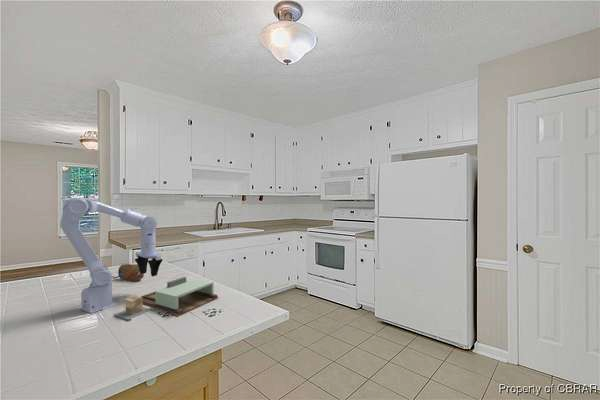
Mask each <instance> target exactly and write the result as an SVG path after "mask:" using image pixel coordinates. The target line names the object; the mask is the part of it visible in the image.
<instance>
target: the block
mask: <svg viewBox="0 0 600 400" xmlns="http://www.w3.org/2000/svg"><path fill="white" fill-rule="evenodd" d="M124 304H125V310H126V313H128V314H131V315H133V314H136V313H138V312H141V311H143V307H144V305H143V298H142V297H141V296H137V295H134V296H131V297H129V298H125V303H124Z"/></svg>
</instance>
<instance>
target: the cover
mask: <svg viewBox="0 0 600 400" xmlns="http://www.w3.org/2000/svg"><path fill="white" fill-rule="evenodd" d="M166 284H167V285H166V287H164V288H161V289H157V290H155V291H154V292H155V304H158V305H162V306H165V307H169V308H172V309H178V298H179V297H181V296H184V295H186V294H189V293H192V292H194V291H200V292H204V293H208V294H215V293H214V291H215V290H214V282H213V281H210V280H205V279H199V278H194V277H193V278H191V279H188V280H187V277H185V276H182V277H179V278H175V279H173V280H170V281H167V282H166Z"/></svg>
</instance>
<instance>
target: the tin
mask: <svg viewBox="0 0 600 400" xmlns="http://www.w3.org/2000/svg"><path fill="white" fill-rule="evenodd" d="M117 274H118V277H119V279H120V280H121V281H125V280H126V281H127V282H138V281H141V280H142V279H143V278H144V276H145V273H144V274H141V273H140V270H139V267H138V264H137V263H136V264H135V263H123V264H121V265H120V266H119V268H118V272H117Z"/></svg>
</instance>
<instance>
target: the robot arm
mask: <svg viewBox="0 0 600 400" xmlns="http://www.w3.org/2000/svg"><path fill="white" fill-rule="evenodd" d="M87 212H88V213H96V212H98V213H102V214H106V215H110V216H113V217H115V218H119V220H120V221H121V223H123V224H128V225H131V226H133V227H139V228H140V252H139V251H137V252H135V256H136V258H134V261H135V262H136V264H138V267H139V270H140V273H141V274H144V275H145V274H146V273H147V271H148V269H147V268H148V264H149V269H150V275H151V277H156V276H158V272H159V268H160V266H161V264H162V262H163V258H162V254H159V252H158V251H157V250H156V244H157V243H156V241H157V239H156V228H157V225H158V222H157V220H156V219H155V218H154V217H152V216H149V215H147V214H146V213H144V212H143V213H141V212H137V211H135V209H134V208H131V209H128V208H127V209H124V210H121V209H119V208H117V207H114V206H110V205H108V204H105V203H102V202H100V201H95V200H91V199H90V200H89V199H84V198H82V197H74V198H70V199H69V200H68V201H67V202H66V204H65V206H64V207H63V209H62V214H61V219H60V223H59V224H60V228H61V230H62V232H63V233H64V235H66V237H67V238H68V241H69V242H70V243H71V245H72V247H73V248H74V250H75V251H76V253H77V254H78V256H79V257H80V258H81V260H82V262H83V263H84V265H85V266H86V268H87V270H88V272H89V276H90V278H91V282H90V283H89V286H88V287H86V288H83V289H82V290H81V294H80V295H81V299H80V300H81V303H80V304H81V308H80V311H81V310H82V311H84V312H87V313H89V314H93V313H96V312H99V311H102V310H103V309H105V308H106V309H107V308H108V307H111V306H115V305H118V302H115V301H113V281H112V279H113V274H112V272H111V271H110V269H109V268H108V267H107V266H105V265H103V264H102V262H101V261H100V259H99V258H98V256H97V254H96V253H95V251H94V250H93V248H92V246H91V245H90V243H89V242H88V240H87V239H86V237H85V236H84V233H83V232H82V231H81V228H79V226H78V224H79V223H80V221H81V218H82V217H83V216H84V215H85V214H86V213H87ZM149 259H150V260H149Z"/></svg>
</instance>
